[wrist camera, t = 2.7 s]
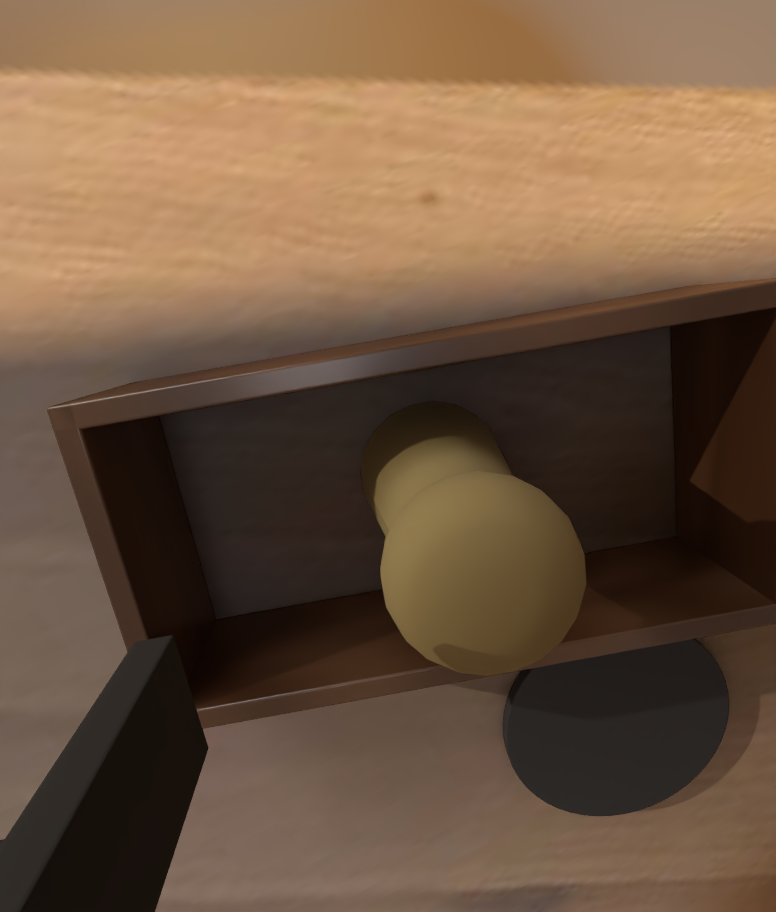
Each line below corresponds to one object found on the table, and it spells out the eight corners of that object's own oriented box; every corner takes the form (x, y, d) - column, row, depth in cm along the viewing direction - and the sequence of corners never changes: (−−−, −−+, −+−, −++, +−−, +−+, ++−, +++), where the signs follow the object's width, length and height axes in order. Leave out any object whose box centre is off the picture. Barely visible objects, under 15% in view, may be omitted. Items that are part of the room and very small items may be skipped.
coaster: (720, 597, 25) (729, 603, 25) (722, 784, 28) (730, 794, 28) (489, 639, 25) (493, 647, 25) (514, 823, 28) (518, 834, 27)
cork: (522, 426, 23) (670, 523, 12) (473, 553, 24) (567, 742, 13) (386, 382, 22) (415, 444, 11) (342, 516, 23) (332, 685, 13)
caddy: (688, 285, 22) (809, 274, 16) (694, 549, 25) (798, 620, 19) (129, 383, 21) (44, 408, 16) (203, 638, 24) (155, 738, 19)
